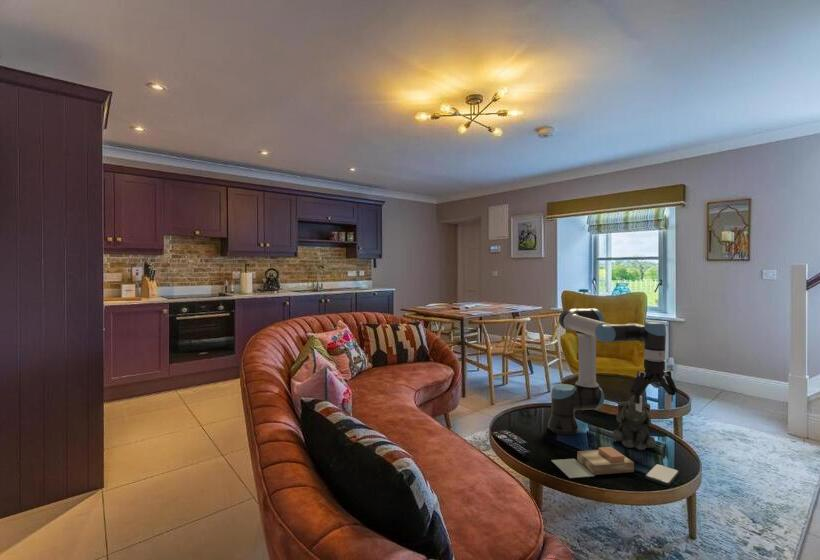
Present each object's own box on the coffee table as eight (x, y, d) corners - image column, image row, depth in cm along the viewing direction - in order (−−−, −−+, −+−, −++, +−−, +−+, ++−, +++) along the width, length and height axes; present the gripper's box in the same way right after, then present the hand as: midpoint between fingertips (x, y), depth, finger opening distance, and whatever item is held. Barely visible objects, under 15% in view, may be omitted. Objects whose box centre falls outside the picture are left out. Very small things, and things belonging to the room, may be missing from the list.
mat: (551, 460, 178) (551, 460, 178) (574, 459, 179) (574, 458, 179) (569, 478, 163) (569, 477, 163) (594, 476, 165) (594, 475, 165)
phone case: (656, 466, 174) (644, 479, 163) (656, 463, 174) (644, 475, 163) (680, 474, 168) (669, 487, 157) (680, 470, 168) (669, 483, 157)
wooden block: (577, 460, 179) (577, 451, 178) (613, 457, 181) (613, 448, 181) (594, 474, 166) (594, 465, 166) (633, 471, 168) (634, 462, 168)
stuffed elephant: (634, 455, 183) (635, 397, 183) (603, 436, 204) (604, 384, 203) (669, 451, 188) (670, 394, 187) (635, 433, 208) (636, 382, 207)
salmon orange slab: (598, 451, 178) (598, 447, 178) (610, 451, 179) (610, 446, 179) (611, 461, 169) (611, 456, 169) (624, 460, 170) (624, 456, 170)
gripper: (633, 362, 160) (632, 415, 160) (688, 360, 164) (687, 411, 164) (621, 358, 167) (620, 408, 168) (673, 356, 171) (672, 405, 172)
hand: (653, 410), depth 166 cm, fingers open, 13 cm apart
